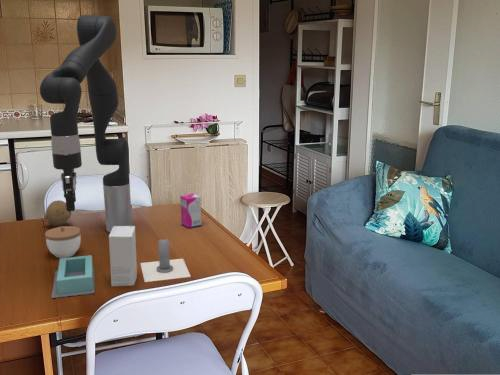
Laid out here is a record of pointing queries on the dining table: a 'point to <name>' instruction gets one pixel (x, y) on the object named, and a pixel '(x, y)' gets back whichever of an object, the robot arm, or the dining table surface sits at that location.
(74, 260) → the teal link
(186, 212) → the supplement box
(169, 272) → the post stand
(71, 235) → the lidded jar
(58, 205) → the natural sponge
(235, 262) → the dining table surface
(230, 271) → the dining table surface
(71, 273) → the grey mat
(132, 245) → the skincare box
